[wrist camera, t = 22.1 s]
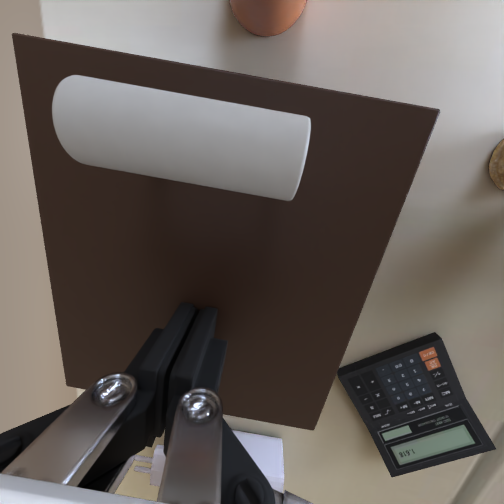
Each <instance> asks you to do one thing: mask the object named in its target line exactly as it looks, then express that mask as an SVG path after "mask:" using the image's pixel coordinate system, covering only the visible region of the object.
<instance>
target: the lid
mask: <svg viewBox="0 0 504 504" xmlns="http://www.w3.org/2000/svg"><path fill="white" fill-rule="evenodd" d="M12 38H13V45H14V51H15V57H16V63H17V70H18V77H19V83H20V89H21V96H22V102H23V109H24V115H25V121H26V128H27V135H28V141H29V147H30V153H31V160H32V166H33V173H34V179H35V186H36V192H37V199H38V205H39V212H40V217H41V224H42V230H43V237H44V243H45V250H46V257H47V263H48V270H49V276H50V282H51V289H52V295H53V301H54V308H55V315H56V321H57V327H58V334H59V340H60V347H61V353H62V360H63V366H64V372H65V379H66V385H67V386H70V387H75V388H81V389H88V388H89V387H90V386H91V385H92V384H93V383H94V382H95V381H96V380H98V379H99V378H101V377H103V376H105V375H107V374H111V373H115V372H124V371H125V370H126V368H127V367H128V366H129V364H130V363H131V361H132V360H133V359H134V357H135V356H136V354H137V353H138V351H139V350H140V349H141V347H142V346H143V344H144V343H145V341H146V340H147V339H148V337H149V336H150V334H151V333H152V332H153V330H154V329H155V328H161V329H164V328H165V327H166V325H167V323H168V322H169V320H170V319H171V317H172V316H173V314H174V313H175V311H176V309H177V308H178V306H179V305H180V303H181V302H184V303H190V304H194V308H197V309H198V311H197V315H198V313H199V311H200V309H205V307H212V308H217V309H218V312H217V319H216V326H215V333H214V338H216V339H222V340H227V341H228V344H227V350H226V356H225V362H224V367H223V372H222V376H221V381H220V386H219V390H218V395H219V396H220V398H221V400H222V405H223V414H225V415H230V416H236V417H241V418H247V419H252V420H258V421H263V422H269V423H274V424H280V425H285V426H291V427H296V428H302V429H307V430H314V429H315V427H316V424H317V422H318V419H319V417H320V414H321V411H322V409H323V406H324V404H325V401H326V399H327V396H328V394H329V391H330V389H331V386H332V384H333V381H334V379H335V376H336V374H337V371H338V369H339V366H340V363H341V361H342V358H343V356H344V353H345V351H346V348H347V346H348V343H349V341H350V338H351V336H352V333H353V331H354V328H355V326H356V323H357V321H358V318H359V315H360V313H361V310H362V308H363V305H364V303H365V300H366V298H367V295H368V293H369V290H370V288H371V285H372V283H373V280H374V278H375V275H376V273H377V270H378V267H379V265H380V262H381V260H382V257H383V255H384V252H385V250H386V247H387V245H388V242H389V240H390V237H391V235H392V232H393V230H394V227H395V225H396V222H397V220H398V217H399V214H400V212H401V209H402V207H403V204H404V202H405V199H406V197H407V194H408V192H409V189H410V187H411V184H412V182H413V179H414V177H415V174H416V172H417V169H418V166H419V164H420V161H421V159H422V156H423V154H424V151H425V149H426V146H427V144H428V141H429V139H430V136H431V134H432V131H433V129H434V126H435V124H436V121H437V118H438V116H439V113H440V110H439V109H435V108H429V107H423V106H418V105H412V104H407V103H401V102H396V101H390V100H385V99H379V98H373V97H368V96H362V95H357V94H351V93H346V92H340V91H334V90H329V89H323V88H318V87H312V86H307V85H301V84H296V83H290V82H284V81H279V80H273V79H268V78H262V77H257V76H251V75H246V74H240V73H234V72H229V71H223V70H218V69H212V68H207V67H201V66H196V65H190V64H184V63H179V62H173V61H168V60H162V59H157V58H151V57H145V56H140V55H134V54H129V53H123V52H118V51H112V50H107V49H101V48H95V47H90V46H84V45H79V44H73V43H68V42H62V41H57V40H51V39H45V38H40V37H34V36H29V35H23V34H18V33H13V34H12Z"/></svg>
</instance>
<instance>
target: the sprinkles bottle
mask: <svg viewBox="0 0 504 504" xmlns="http://www.w3.org/2000/svg"><path fill="white" fill-rule="evenodd" d="M489 171H490V172H489V174H490V177H491V178H492V180H493V182H494V184H495V185H496V186H497V187H498V188H500V189H501V190H504V139H503V140H502V141H501V142H500V143H499V144H498V146H497V147H496V149H495V150H494V152H493V155H492V158H491V160H490V164H489Z"/></svg>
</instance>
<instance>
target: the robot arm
mask: <svg viewBox="0 0 504 504" xmlns="http://www.w3.org/2000/svg"><path fill="white" fill-rule="evenodd" d="M197 311H198V309H197V308H194V304H190V303H184V302H181V303H180V305H179V306H178V308H177V309H176V311H175V313H174V314H173V316H172V317H171V319H170V320H169V322H168V323H167V325H166V327H165V328H164V329H161V328H155V329H154V330H153V332H152V333H151V334H150V336H149V337H148V339H147V340H146V341H145V343H144V344H143V346H142V347H141V349H140V350H139V351H138V353H137V354H136V356H135V357H134V359H133V360H132V361H131V363H130V364H129V366H128V367H127V368H126V370H125V371H124V372H115V373H111V374H107V375H105V376H103V377H101V378H99V379H98V380H96V381H95V382H94V383H93V384H92V385H91V386H90V387H89V388H88V389H86V390H85V391H84V392H83V393H82V394H81V395H80V396H79V397H78V398H77V399H76V400H75V401H74V402H73V403H72V404H71V405H68V406H66V407H64V408H61V409H59V410H56V411H54V412H52V413H49V414H47V415H44V416H42V417H40V418H37V419H35V420H32V421H30V422H27V423H25V424H23V425H20V426H18V427H16V428H13V429H11V430H8V431H6V432H3V433H2V434H0V504H313V503H311V502H309V501H306V500H304V499H302V498H300V497H298V496H296V495H294V494H292V493H290V492H288V491H286V490H285V492H284V494H283V493H281V492H279V491H277V490H275V489H273V488H272V487H271V485H270V483H269V481H268V480H267V478H266V477H265V475H264V474H263V473H262V471H261V470H260V468H259V467H258V466H257V464H256V463H255V462H254V460H253V459H252V457H251V456H250V455H249V453H248V452H247V451H246V449H245V448H244V446H243V445H242V444H241V442H240V441H239V439H238V438H237V437H236V435H235V434H234V433H233V431H232V430H231V428H230V427H229V426H228V424H227V423H226V422H225V420H224V419H223V405H222V400H221V398H220V396H219V395H218V390H219V386H220V381H221V376H222V372H223V367H224V362H225V356H226V350H227V344H228V341H227V340H222V339H216V338H214V333H215V326H216V319H217V312H218V309H217V308H212V307H205V309H200V311H199V313H198V315H197ZM164 429H165V438H164V450H163V452H164V455H165V457H166V460H165V465H164V470H163V474H162V479H161V484H160V489H159V493H158V498H157V502H156V501H150V500H145V499H140V498H134V497H129V496H123V495H118V494H114V493H115V491H116V490H117V488H118V486H119V485H120V483H121V481H122V480H123V478H124V476H125V475H126V473H127V471H128V470H129V468H130V466H131V465H132V463H133V460H134V458H135V454H137V453H138V452H140V451H142V450H143V449H145V447H146V446H147V447H152V445H153V443H154V441H155V438H156V437H161V436H162V434H163V432H164Z"/></svg>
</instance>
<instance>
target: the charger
mask: <svg viewBox="0 0 504 504" xmlns="http://www.w3.org/2000/svg"><path fill="white" fill-rule="evenodd" d="M232 431H233V433H234V434H235V435H236V437H237V438H238V439H239V441H240V442H241V444H242V445H243V446H244V448H245V449H246V451H247V452H248V453H249V455H250V456H251V457H252V459H253V460H254V462H255V463H256V464H257V466H258V467H259V468H260V470H261V471H262V473H263V474H264V475H265V477H266V478H267V480H268V481H269V483H270V485H271V487H272V488H273V489H275V490H277V491H279V492H281V493H282V491H283V485H284V464H283V446H282V439H281V438H276V437H270V436H264V435H258V434H253V433H247V432H241V431H235V430H232ZM163 450H164V446H163V445H157V446H156V448H155V452H154V456H153V458H151V457H145V456H140V455H136V456H135V458H134V460H135V461H141V462H147V463H152V466H151V468H147V467H141V466H135V468H134V471H137V472H143V473H149V474H151V475H150V485H154V486H160V484H161V479H162V474H163V470H164V465H165V460H166V457H165V455H164V452H163Z"/></svg>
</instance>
